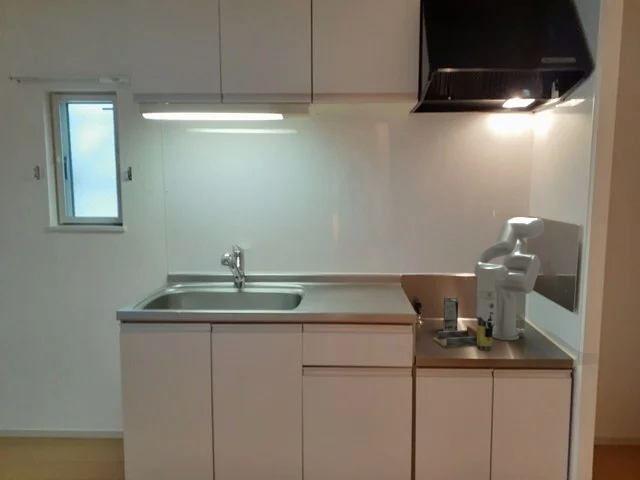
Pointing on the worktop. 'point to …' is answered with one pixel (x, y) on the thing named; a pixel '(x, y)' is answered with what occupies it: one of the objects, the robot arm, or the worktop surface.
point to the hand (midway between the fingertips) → (484, 334)
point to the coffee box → (450, 314)
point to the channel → (457, 338)
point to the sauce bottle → (483, 336)
